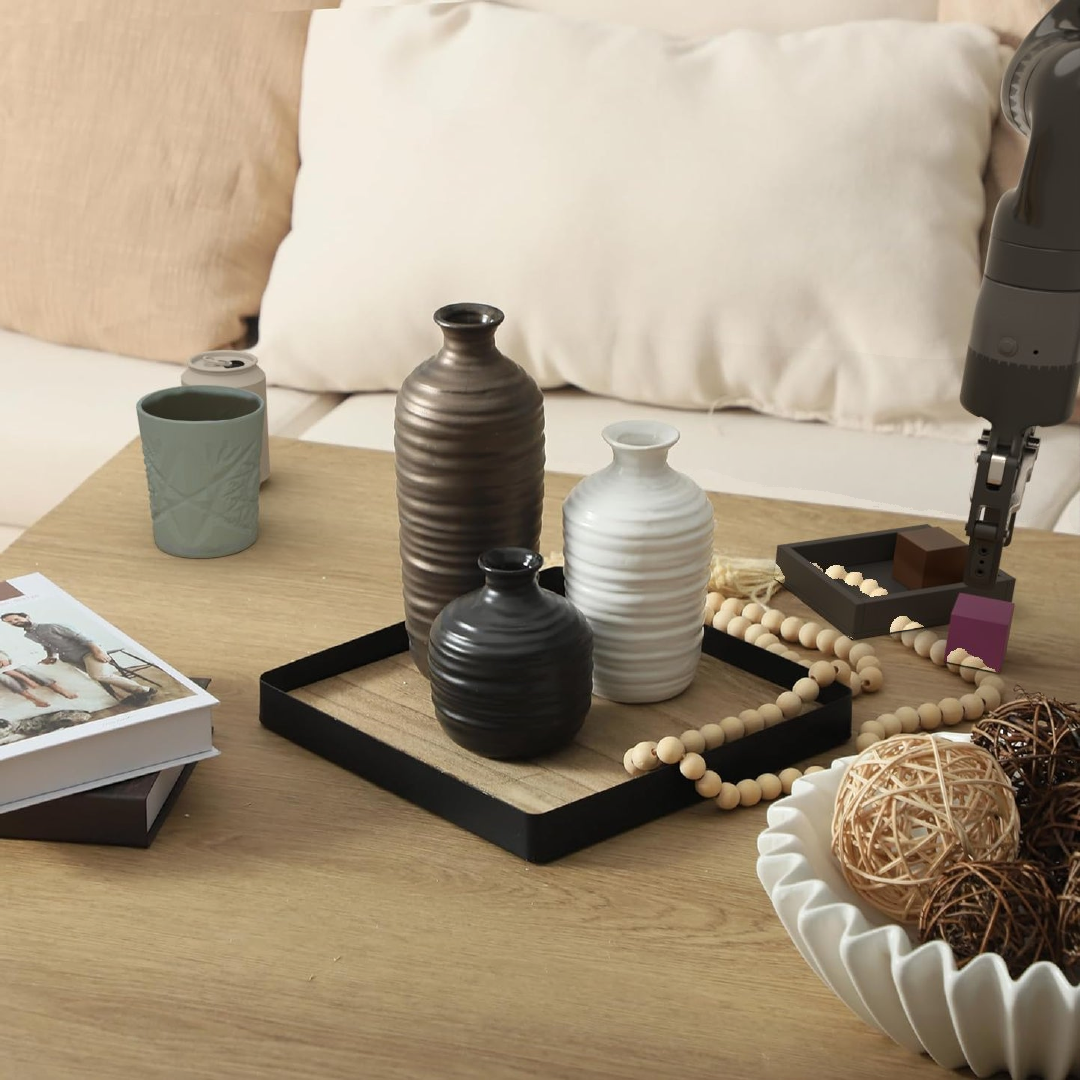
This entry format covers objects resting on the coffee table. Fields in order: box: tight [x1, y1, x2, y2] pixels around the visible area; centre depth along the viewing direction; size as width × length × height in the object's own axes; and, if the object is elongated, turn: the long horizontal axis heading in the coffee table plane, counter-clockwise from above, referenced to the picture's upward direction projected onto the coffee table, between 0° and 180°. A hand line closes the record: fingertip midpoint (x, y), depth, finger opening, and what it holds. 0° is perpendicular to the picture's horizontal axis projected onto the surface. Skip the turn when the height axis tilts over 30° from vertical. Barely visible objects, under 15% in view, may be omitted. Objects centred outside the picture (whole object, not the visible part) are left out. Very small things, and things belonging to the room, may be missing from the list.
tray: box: [774, 523, 1017, 641], centre depth 117 cm, size 15×12×3 cm
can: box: [180, 349, 271, 486], centre depth 134 cm, size 8×8×12 cm
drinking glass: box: [135, 385, 265, 559], centre depth 122 cm, size 10×10×12 cm
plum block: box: [943, 593, 1016, 674], centre depth 108 cm, size 4×4×4 cm
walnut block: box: [891, 526, 969, 591], centre depth 118 cm, size 4×4×4 cm
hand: (987, 564), depth 106 cm, fingers open, 8 cm apart
